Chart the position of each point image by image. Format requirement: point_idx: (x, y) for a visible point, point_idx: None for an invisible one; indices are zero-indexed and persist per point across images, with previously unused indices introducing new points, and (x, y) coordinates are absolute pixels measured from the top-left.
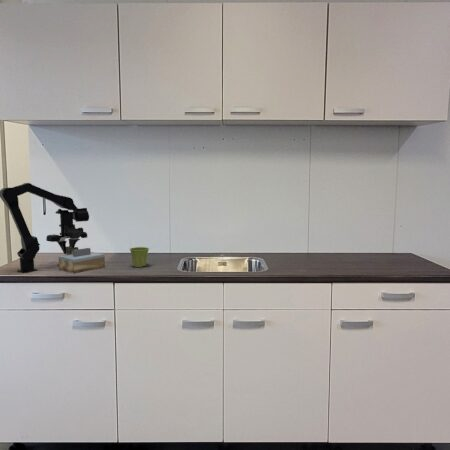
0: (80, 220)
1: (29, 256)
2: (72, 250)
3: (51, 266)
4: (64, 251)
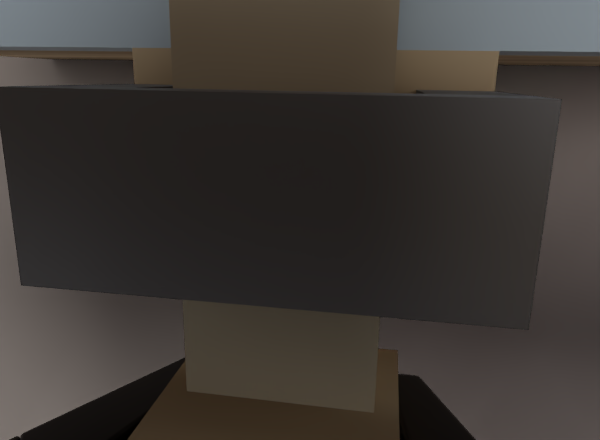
0: None
1: None
2: None
3: (586, 413)
4: (457, 426)
